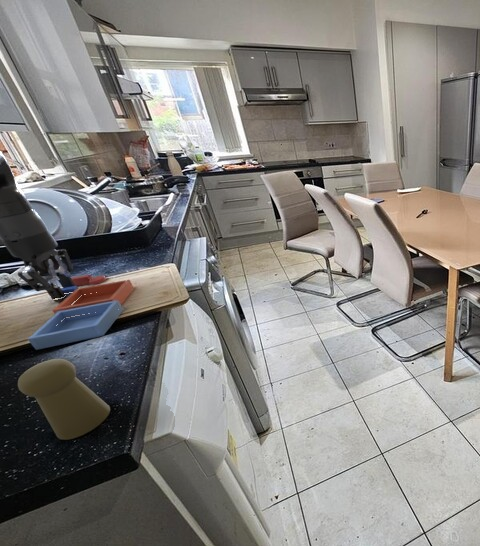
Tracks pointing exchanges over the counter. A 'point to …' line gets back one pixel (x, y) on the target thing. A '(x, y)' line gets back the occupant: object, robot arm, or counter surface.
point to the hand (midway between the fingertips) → (66, 295)
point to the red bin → (97, 295)
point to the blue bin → (76, 325)
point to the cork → (63, 398)
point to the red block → (87, 280)
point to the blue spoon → (69, 290)
